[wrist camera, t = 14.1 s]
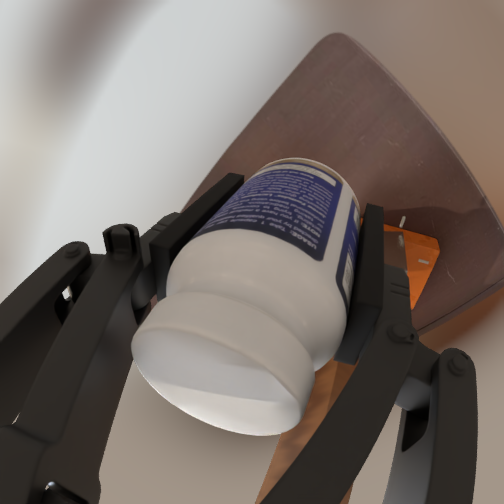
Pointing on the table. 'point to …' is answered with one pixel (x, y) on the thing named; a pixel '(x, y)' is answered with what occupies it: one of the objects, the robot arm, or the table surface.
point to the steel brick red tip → (395, 249)
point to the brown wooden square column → (308, 422)
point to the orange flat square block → (417, 258)
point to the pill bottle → (256, 301)
